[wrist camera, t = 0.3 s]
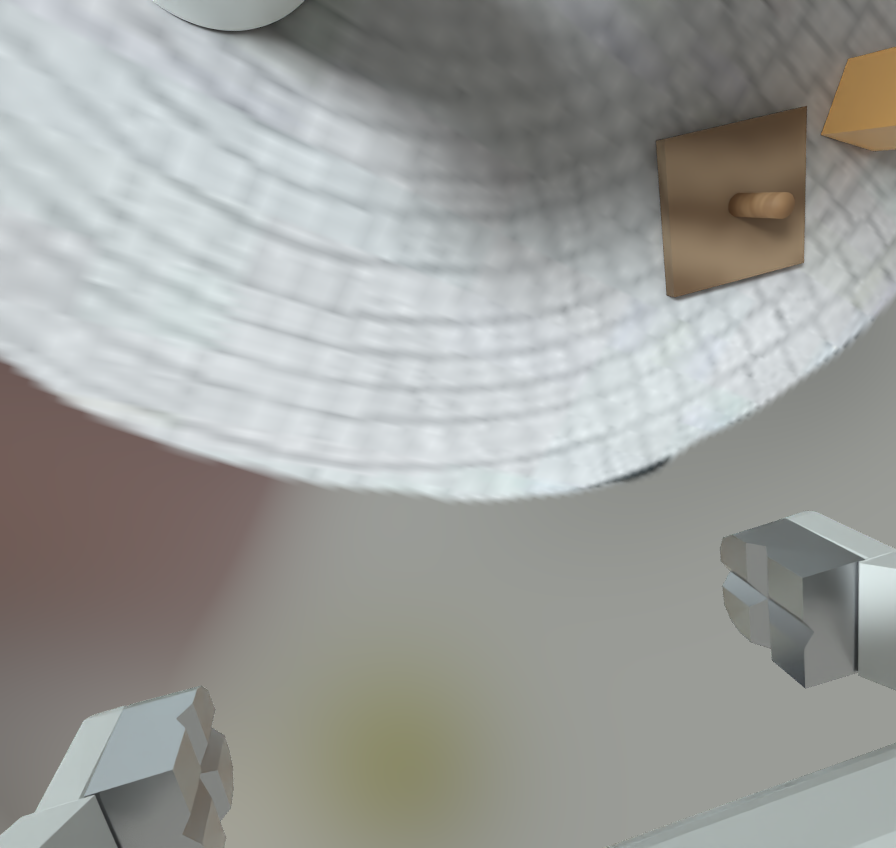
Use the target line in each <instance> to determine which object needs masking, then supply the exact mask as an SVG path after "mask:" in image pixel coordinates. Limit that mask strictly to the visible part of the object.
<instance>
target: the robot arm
mask: <svg viewBox="0 0 896 848" xmlns="http://www.w3.org/2000/svg"><path fill="white" fill-rule="evenodd" d="M152 1H153V2H154V3H156V4H157V5H159V6H160V7H162V8H163V9H165V10H166V11H168V12H170V13H171V14H173V15H175V16H177V17H179V18H181V19H183V20H186V21H188V22H191V23H193V24H196V25H199V26H203V27H207V28H211V29H217V30H226V31H240V30H249V29H255V28H259V27H263V26H266V25H269V24H271V23H273V22H276V21H278V20H280V19H281V18H283V17H285V16H286V15H288V14H289V13H291V12H292V11H293V10H295V9H296V8H297V7H298V6H299V5H300V4H302V3H303V2H304V1H305V0H152ZM720 555H721V556H720V557H721V562H722V563H723V564H724V565H725V566H726V567H727V568H728V569H729V571H730V572H729V574H728V576H727V578H726V580H725V582H724V584H723V586H722V587H723V597H724V605H725V607H726V610H727V612H728V614H729V617H730V619H731V621H732V623H733V624H734V625H735V627H736V628H737V629H738V631H739V632H740V633H741V634H742V635H743V636H744V637H745V638H746V639H748V640H749V641H750V642H751V643H754V644H757V645H760V646H764V647H767V648H770V649H771V658H772V661H773V662H775V663H776V664H777V665H778V666H779V667H780V668H782V669H783V670H784V671H785V672H786V673H787V674H789V675H790V676H791V677H792V678H793V679H795V680H796V681H797V682H798V683H799V684H801V685H802V686H803V687H804V688H809V687H812V686H816V685H819V684H822V683H826V682H829V681H832V680H836V679H839V678H842V677H846V676H849V675H852V674H855V673H858V676H861V677H863V678H865V679H868V680H871V681H873V682H876V683H878V684H881V685H883V686H886V687H888V688H891V689H893V690H896V549H895V548H893V547H891V546H889V545H886V544H884V543H882V542H880V541H878V540H876V539H874V538H871V537H869V536H867V535H865V534H863V533H861V532H859V531H857V530H855V529H852V528H850V527H848V526H846V525H844V524H842V523H840V522H838V521H835V520H833V519H831V518H829V517H827V516H825V515H822V514H821V513H819V512H816V511H804V512H801V513H797V514H794V515H791V516H788V517H785V518H782V519H779V520H777V521H774V522H771V523H768V524H765V525H761V526H758V527H755V528H752V529H749V530H745V531H742V532H739V533H736V534H732V535H729V536H726V537H723V539H722V543H721V546H720ZM214 714H215V707H214V704H213V702H212V699H211V697H210V694H209V692H208V690H207V689H206V688H204V687H203V686H198V687H194V688H190V689H187V690H183V691H179V692H175V693H172V694H168V695H164V696H161V697H156V698H153V699H149V700H146V701H141V702H138V703H134V704H130V705H129V706H122V707H118V708H115V709H112V710H108V711H105V712H102V713H98V714H95V715H92V716H91V717H89V718H87V719H85V720H84V721H83V723H82V725H81V727H80V728H79V730H78V732H77V734H76V736H75V738H74V740H73V742H72V743H71V746H70V747H69V749H68V751H67V753H66V755H65V757H64V758H63V760H62V762H61V764H60V766H59V768H58V770H57V772H56V773H55V776H54V777H53V779H52V781H51V783H50V785H49V787H48V789H47V790H46V792H45V794H44V796H43V798H42V800H41V802H40V804H39V805H38V808H37V809H36V811H35V813H33V814H30V815H27V816H23V817H21V818H20V819H18V820H17V821H16V822H15V823H14V824H13V825H12V826H10V827H9V828H8V829H7V830H6V831H5V832H4V833H3V834H1V835H0V848H224V846H225V841H226V836H225V833H224V830H223V828H222V825H221V822H220V821H221V820H222V819H223V818H224V816H225V815H226V814H227V812H228V811H229V810H230V809H231V804H232V797H233V790H234V787H233V766H232V760H231V755H230V751H229V747H228V744H227V741H226V739H225V736H224V735H223V734H222V733H220V732H218V731H217V730H215V729H213V728H212V722H213V718H214ZM604 848H896V743H894V744H891V745H888V746H885V747H883V748H880V749H877V750H874V751H871V752H869V753H866V754H863V755H860V756H857V757H855V758H852V759H849V760H846V761H844V762H841V763H838V764H835V765H832V766H830V767H827V768H824V769H821V770H818V771H816V772H813V773H810V774H807V775H804V776H802V777H799V778H796V779H793V780H790V781H788V782H785V783H782V784H779V785H777V786H774V787H771V788H768V789H765V790H763V791H760V792H757V793H754V794H751V795H748V796H746V797H743V798H740V799H737V800H735V801H732V802H729V803H726V804H723V805H720V806H718V807H715V808H712V809H709V810H707V811H704V812H701V813H698V814H696V815H693V816H690V817H687V818H685V819H682V820H679V821H676V822H674V823H671V824H668V825H665V826H662V827H660V828H657V829H654V830H652V831H649V832H646V833H643V834H640V835H637V836H635V837H632V838H629V839H626V840H624V841H621V842H618V843H615V844H613V845H610V846H607V847H604Z"/></svg>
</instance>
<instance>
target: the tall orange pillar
mask: <svg viewBox="0 0 896 848" xmlns="http://www.w3.org/2000/svg"><path fill="white" fill-rule="evenodd" d="M821 135H823V136H826V137H829V138H832V139H836V140H839V141H842V142H845V143H848V144H852V145H855V146H858V147H861V148H865V149H868V150H871V151H882V150H894V149H896V47H892V48H889V49H885V50H881V51H877V52H873V53H869V54H865V55H862V56H858V57H854V58H850V59H848V61H847V63H846V66H845V69H844V72H843V75H842V77H841V80H840V83H839V86H838V89H837V91H836V94H835V97H834V100H833V103H832V105H831V108H830V111H829V114H828V117H827V119H826V122H825V125H824V128H823V130H822V133H821Z"/></svg>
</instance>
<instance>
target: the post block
mask: <svg viewBox="0 0 896 848" xmlns="http://www.w3.org/2000/svg"><path fill="white" fill-rule="evenodd" d="M806 124H807V106H805V107H800V108H795V109H790V110H786V111H782V112H778V113H773V114H769V115H765V116H760V117H756V118H752V119H748V120H743V121H739V122H735V123H730V124H726V125H722V126H718V127H713V128H709V129H705V130H700V131H696V132H692V133H688V134H683V135H679V136H675V137H670V138H666V139H662V140H658V141H656V149H657V163H658V178H659V192H660V206H661V221H662V235H663V250H664V264H665V279H666V293H667V295H668V296H671V297H678V296H682V295H685V294H689V293H693V292H697V291H700V290H704V289H708V288H711V287H715V286H719V285H723V284H726V283H730V282H734V281H738V280H741V279H745V278H749V277H752V276H756V275H760V274H764V273H767V272H771V271H775V270H778V269H782V268H786V267H790V266H793V265H797V264H801V263H804V232H805V178H806Z"/></svg>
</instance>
